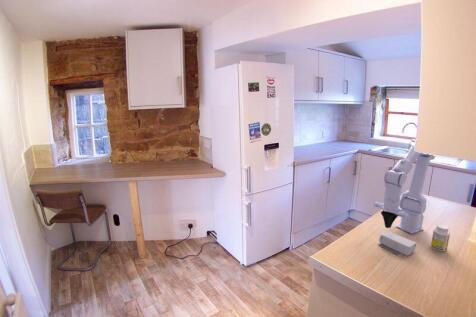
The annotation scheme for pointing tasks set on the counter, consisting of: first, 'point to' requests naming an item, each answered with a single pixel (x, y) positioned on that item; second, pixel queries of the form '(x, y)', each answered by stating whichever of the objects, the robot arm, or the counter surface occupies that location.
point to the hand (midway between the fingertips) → (387, 227)
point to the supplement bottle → (440, 238)
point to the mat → (390, 249)
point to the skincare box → (397, 243)
